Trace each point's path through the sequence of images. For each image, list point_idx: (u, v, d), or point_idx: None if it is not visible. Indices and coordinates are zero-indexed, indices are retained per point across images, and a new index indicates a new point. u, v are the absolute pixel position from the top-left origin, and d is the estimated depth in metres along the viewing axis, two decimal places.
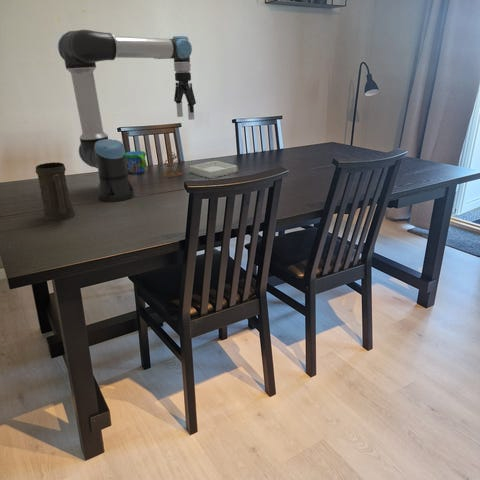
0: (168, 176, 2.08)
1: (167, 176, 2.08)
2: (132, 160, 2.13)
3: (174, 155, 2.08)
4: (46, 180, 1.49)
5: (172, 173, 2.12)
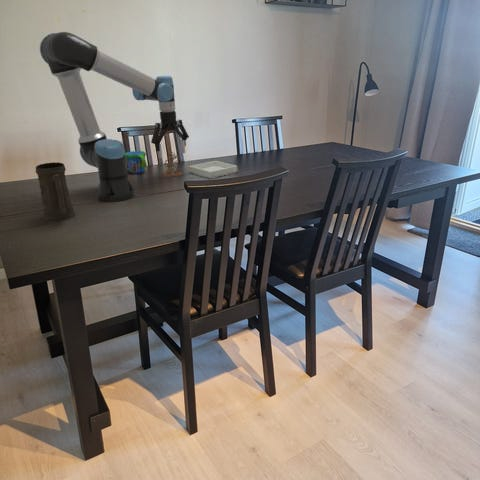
0: (168, 176, 2.08)
1: (167, 176, 2.08)
2: (132, 160, 2.13)
3: (174, 155, 2.08)
4: (46, 180, 1.49)
5: (172, 173, 2.12)
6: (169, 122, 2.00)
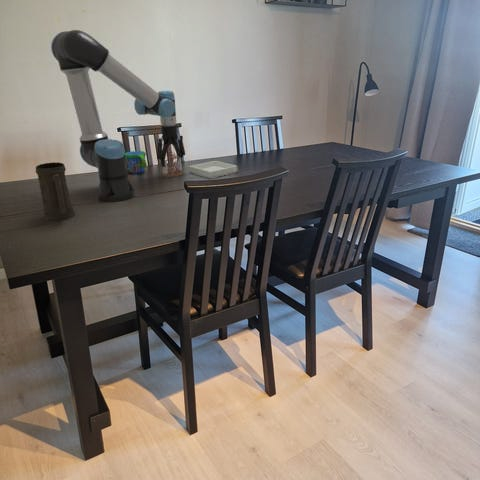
0: (168, 176, 2.08)
1: (167, 176, 2.08)
2: (132, 160, 2.13)
3: (174, 155, 2.08)
4: (46, 180, 1.49)
5: (172, 173, 2.12)
6: (170, 136, 2.03)
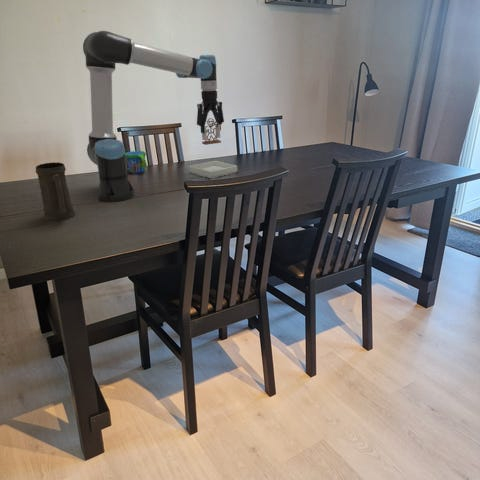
0: (207, 143, 2.06)
1: (206, 143, 2.06)
2: (132, 160, 2.13)
3: (213, 121, 2.06)
4: (46, 180, 1.49)
5: None
6: (210, 101, 2.01)
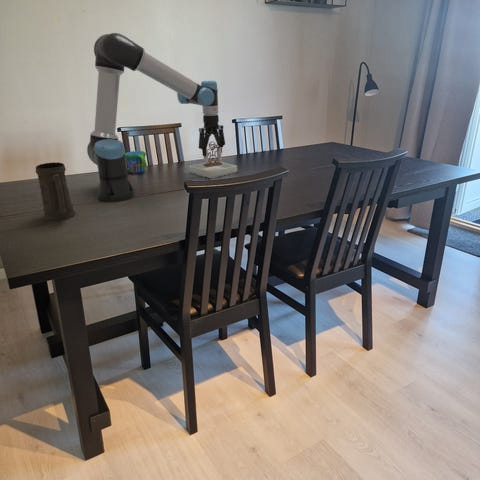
0: (209, 165, 2.11)
1: (208, 165, 2.11)
2: (132, 160, 2.13)
3: (215, 145, 2.11)
4: (46, 180, 1.49)
5: None
6: (212, 125, 2.05)
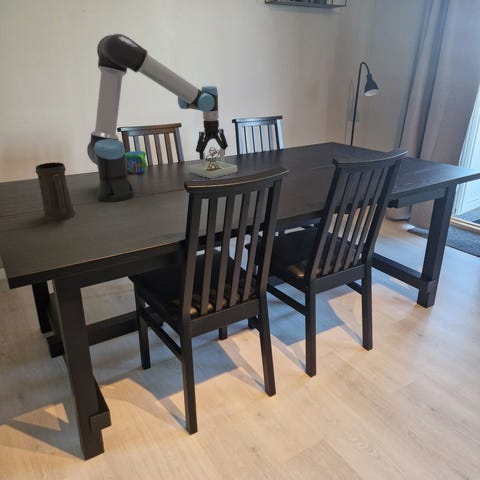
0: None
1: None
2: (132, 160, 2.13)
3: (215, 150, 2.12)
4: (46, 180, 1.49)
5: (212, 168, 2.16)
6: (212, 130, 2.06)
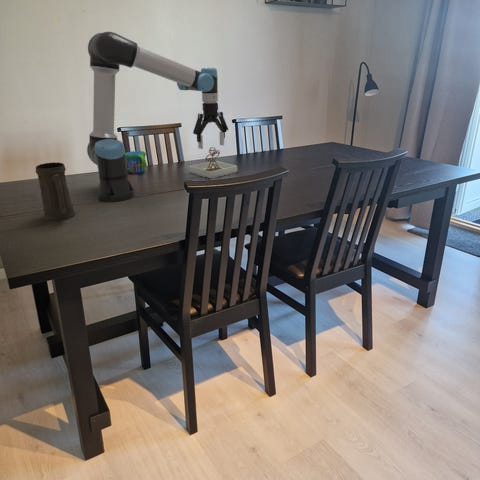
0: None
1: None
2: (132, 160, 2.13)
3: (215, 150, 2.12)
4: (46, 180, 1.49)
5: (212, 168, 2.16)
6: (211, 113, 2.03)
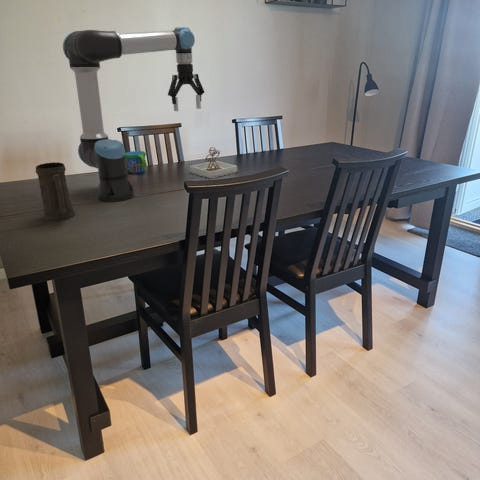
0: None
1: None
2: (132, 160, 2.13)
3: (215, 150, 2.12)
4: (46, 180, 1.49)
5: (212, 168, 2.16)
6: (186, 75, 2.01)
